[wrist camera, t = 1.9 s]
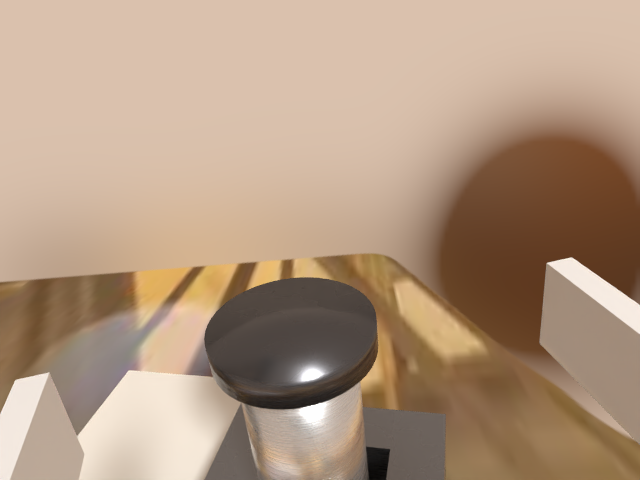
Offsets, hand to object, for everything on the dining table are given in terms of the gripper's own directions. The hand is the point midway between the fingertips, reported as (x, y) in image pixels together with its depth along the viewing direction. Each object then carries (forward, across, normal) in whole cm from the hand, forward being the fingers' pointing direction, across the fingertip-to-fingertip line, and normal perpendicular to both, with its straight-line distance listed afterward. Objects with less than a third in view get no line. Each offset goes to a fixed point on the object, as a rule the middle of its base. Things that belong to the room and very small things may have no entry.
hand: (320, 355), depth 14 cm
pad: (+21, -10, -22) cm, 32 cm away
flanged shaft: (+10, 0, -21) cm, 23 cm away
